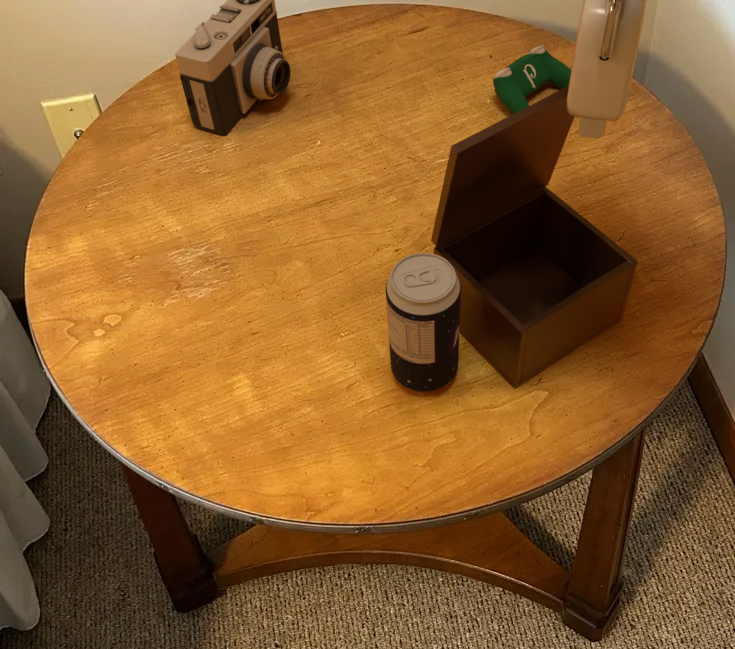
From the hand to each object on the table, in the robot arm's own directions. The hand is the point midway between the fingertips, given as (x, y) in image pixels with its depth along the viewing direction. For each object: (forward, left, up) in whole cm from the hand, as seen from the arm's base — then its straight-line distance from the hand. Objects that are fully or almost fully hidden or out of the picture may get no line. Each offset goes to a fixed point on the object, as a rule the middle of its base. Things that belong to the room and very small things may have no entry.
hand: (598, 91), depth 65 cm
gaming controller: (+21, -14, -20) cm, 32 cm away
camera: (+40, +10, -20) cm, 46 cm away
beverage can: (-1, +17, -20) cm, 26 cm away
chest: (-2, +6, -20) cm, 21 cm away
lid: (+2, +7, -6) cm, 9 cm away
